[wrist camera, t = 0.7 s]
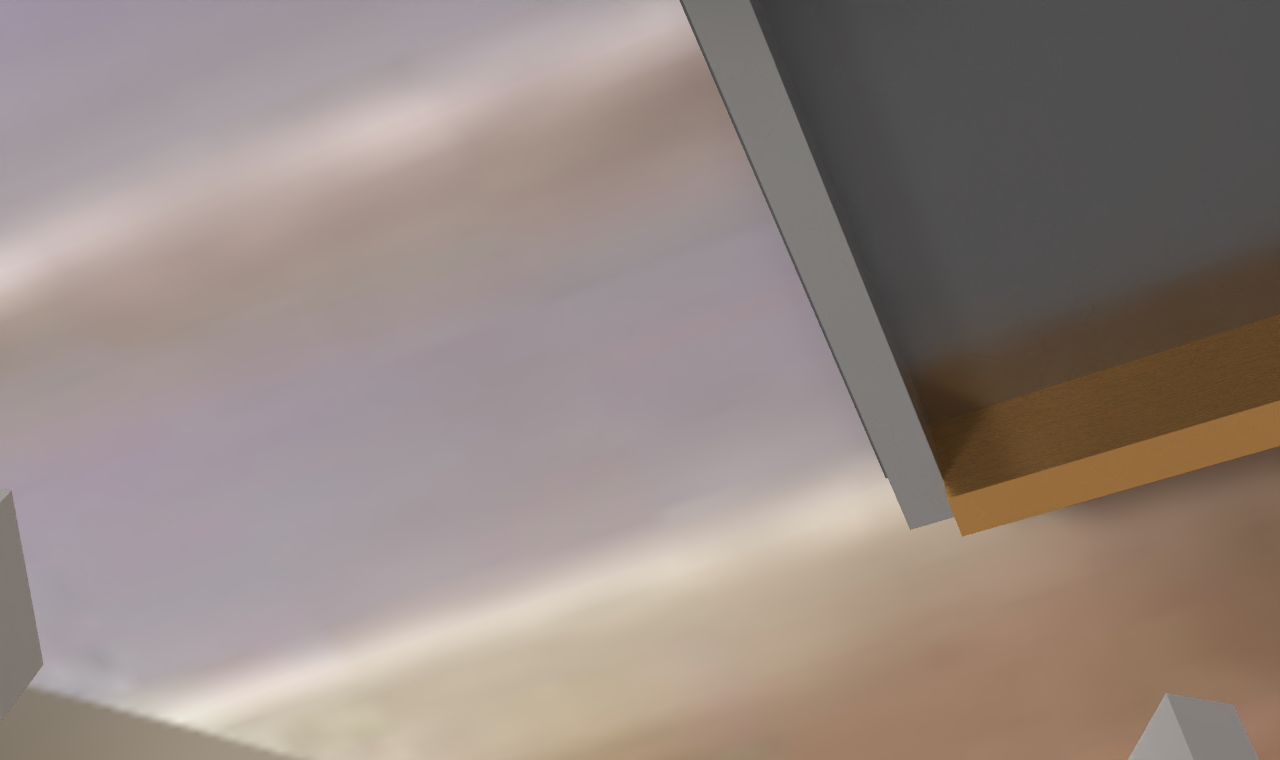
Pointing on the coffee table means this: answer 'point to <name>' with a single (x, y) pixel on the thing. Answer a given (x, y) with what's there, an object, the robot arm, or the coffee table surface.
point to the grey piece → (1025, 230)
